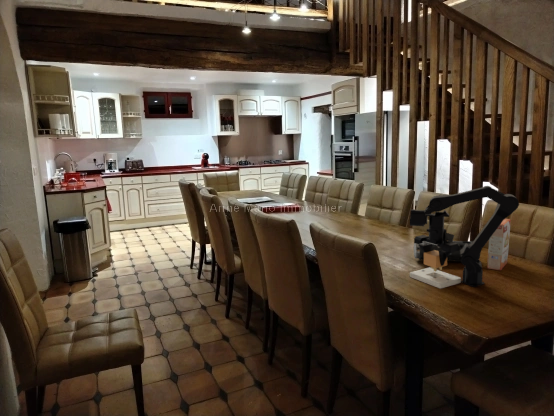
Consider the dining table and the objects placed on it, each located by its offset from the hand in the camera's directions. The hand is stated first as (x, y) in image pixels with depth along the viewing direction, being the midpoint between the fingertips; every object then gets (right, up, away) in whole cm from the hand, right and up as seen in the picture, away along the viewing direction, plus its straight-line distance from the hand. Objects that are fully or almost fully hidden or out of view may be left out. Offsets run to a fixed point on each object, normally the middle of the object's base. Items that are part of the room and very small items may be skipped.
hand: (435, 263), depth 161 cm
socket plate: (0, -7, +1) cm, 7 cm away
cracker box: (+35, -3, +15) cm, 38 cm away
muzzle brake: (+15, -3, +24) cm, 28 cm away
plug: (0, -3, 0) cm, 3 cm away
